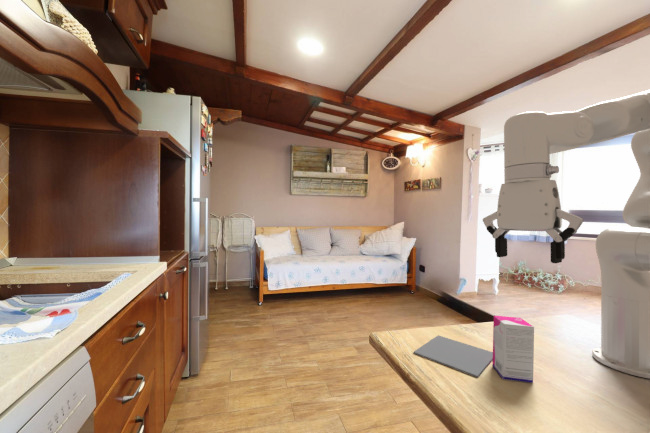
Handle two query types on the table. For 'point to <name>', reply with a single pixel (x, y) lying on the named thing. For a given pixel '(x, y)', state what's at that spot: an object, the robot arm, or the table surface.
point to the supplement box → (513, 348)
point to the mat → (456, 355)
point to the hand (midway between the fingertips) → (527, 259)
